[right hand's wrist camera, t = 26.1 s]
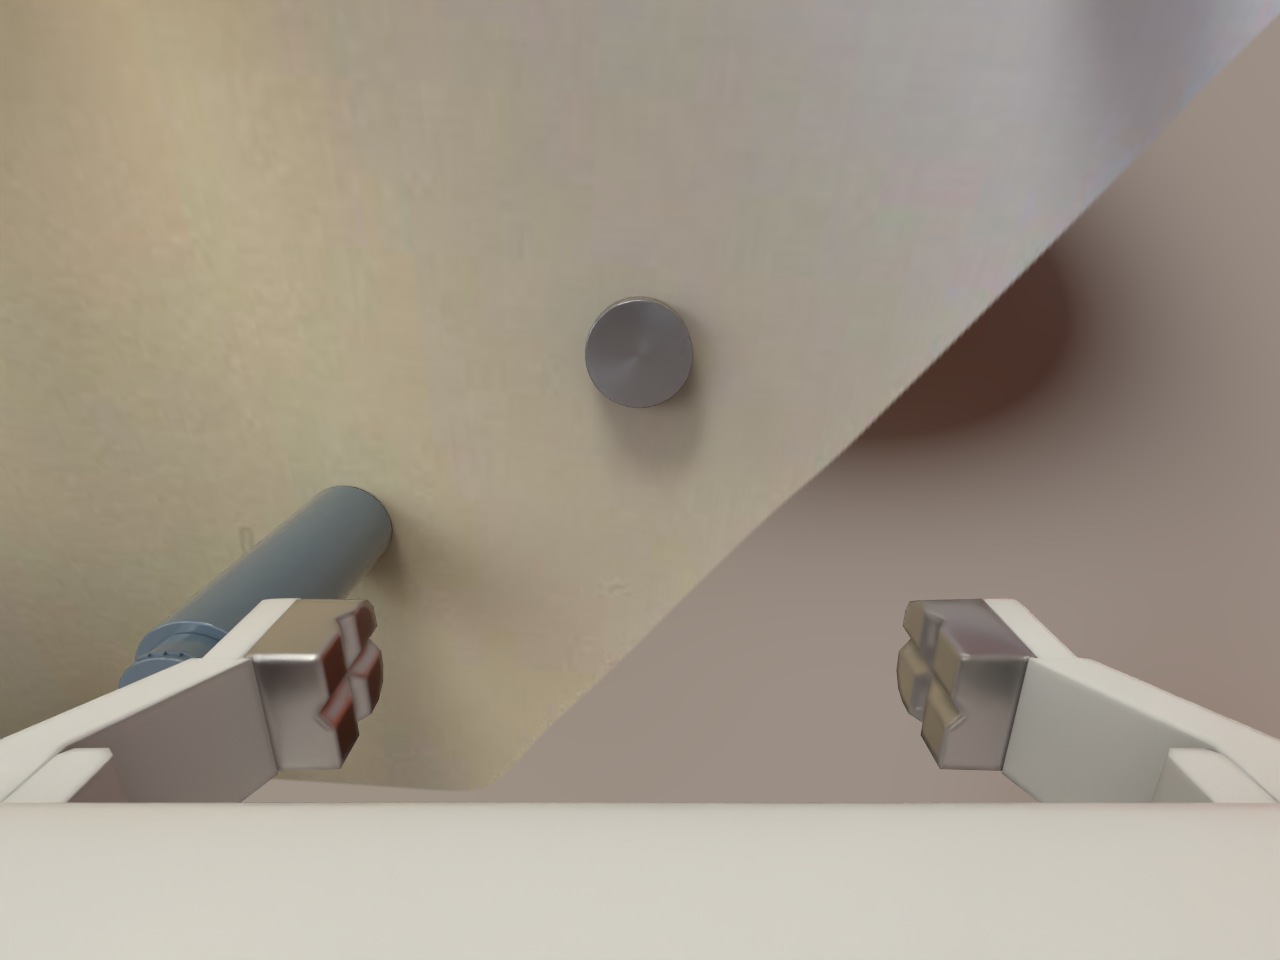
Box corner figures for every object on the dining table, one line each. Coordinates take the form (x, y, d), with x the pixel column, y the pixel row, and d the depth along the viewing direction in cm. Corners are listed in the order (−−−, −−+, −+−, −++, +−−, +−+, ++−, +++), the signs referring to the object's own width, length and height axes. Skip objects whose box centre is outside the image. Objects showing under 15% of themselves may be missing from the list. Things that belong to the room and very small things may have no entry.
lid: (607, 281, 35) (605, 283, 33) (705, 318, 35) (709, 322, 33) (574, 379, 36) (571, 387, 35) (668, 413, 37) (669, 422, 35)
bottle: (407, 547, 40) (269, 735, 25) (333, 574, 40) (156, 773, 26) (365, 473, 38) (191, 627, 23) (290, 502, 39) (73, 671, 24)
